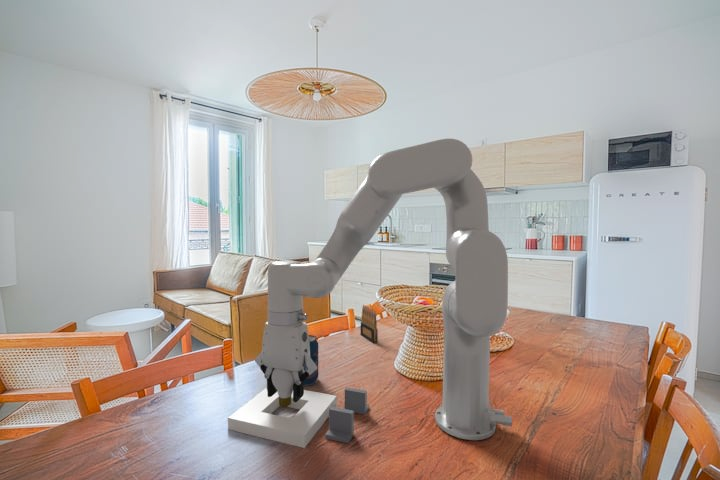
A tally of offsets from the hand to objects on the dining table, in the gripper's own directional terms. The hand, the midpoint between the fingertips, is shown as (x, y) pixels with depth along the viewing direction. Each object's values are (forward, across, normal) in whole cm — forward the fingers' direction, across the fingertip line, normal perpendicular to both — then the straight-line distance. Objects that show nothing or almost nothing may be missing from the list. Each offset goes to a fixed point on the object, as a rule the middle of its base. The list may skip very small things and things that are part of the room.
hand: (285, 395), depth 76 cm
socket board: (+5, 0, 0) cm, 5 cm away
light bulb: (+3, 0, 0) cm, 3 cm away
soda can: (+5, +4, -17) cm, 18 cm away
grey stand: (+5, -14, -3) cm, 15 cm away
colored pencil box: (+5, -2, -56) cm, 56 cm away
